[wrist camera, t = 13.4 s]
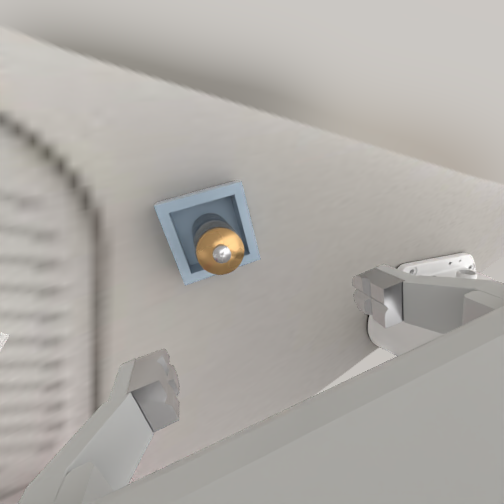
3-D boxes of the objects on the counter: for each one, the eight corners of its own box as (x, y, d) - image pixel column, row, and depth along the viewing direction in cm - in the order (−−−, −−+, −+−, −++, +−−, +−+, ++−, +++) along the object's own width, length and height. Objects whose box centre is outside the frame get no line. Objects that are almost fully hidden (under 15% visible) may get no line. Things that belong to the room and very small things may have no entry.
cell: (223, 208, 26) (240, 222, 18) (232, 242, 27) (252, 269, 19) (187, 218, 25) (188, 238, 17) (198, 252, 26) (204, 285, 19)
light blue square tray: (233, 180, 26) (241, 181, 23) (251, 250, 29) (260, 259, 26) (156, 201, 25) (153, 205, 21) (184, 272, 28) (185, 285, 25)
